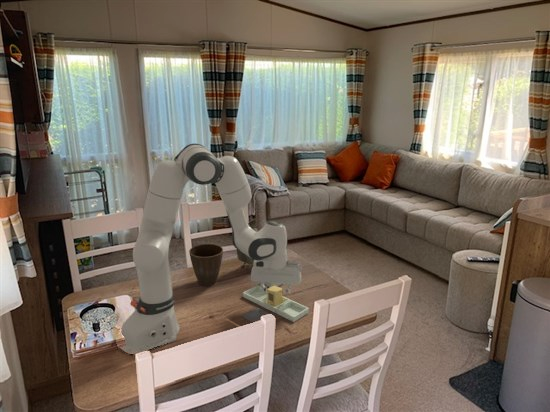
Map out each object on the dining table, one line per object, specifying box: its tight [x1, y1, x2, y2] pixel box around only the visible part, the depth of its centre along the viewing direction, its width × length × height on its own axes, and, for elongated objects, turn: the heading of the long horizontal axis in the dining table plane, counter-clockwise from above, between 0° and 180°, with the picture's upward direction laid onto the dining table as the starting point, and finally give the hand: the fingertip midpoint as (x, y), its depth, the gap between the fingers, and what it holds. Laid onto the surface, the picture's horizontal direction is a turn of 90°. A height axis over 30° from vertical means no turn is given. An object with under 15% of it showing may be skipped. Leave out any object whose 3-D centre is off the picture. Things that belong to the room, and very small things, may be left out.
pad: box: [241, 307, 271, 323], centre depth 158 cm, size 9×9×1 cm
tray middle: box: [258, 296, 291, 314], centre depth 166 cm, size 9×9×2 cm
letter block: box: [267, 285, 283, 307], centre depth 165 cm, size 5×4×7 cm
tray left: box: [242, 284, 267, 305], centre depth 172 cm, size 9×9×2 cm
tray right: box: [275, 299, 310, 323], centre depth 160 cm, size 9×9×2 cm
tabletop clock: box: [236, 218, 260, 270], centre depth 198 cm, size 14×9×25 cm, turn 136°
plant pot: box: [189, 243, 224, 287], centre depth 183 cm, size 15×15×16 cm
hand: (276, 291), depth 165 cm, fingers open, 8 cm apart
